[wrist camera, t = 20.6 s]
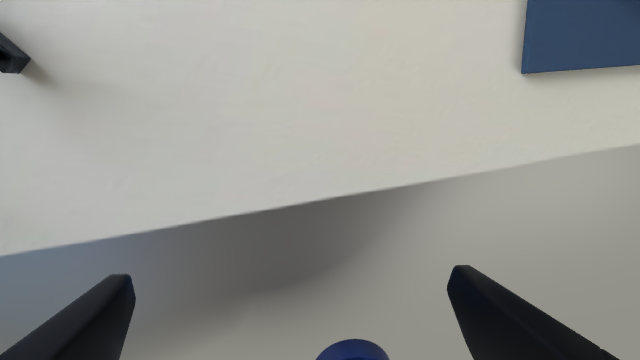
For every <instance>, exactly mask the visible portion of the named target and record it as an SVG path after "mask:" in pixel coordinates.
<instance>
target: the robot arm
mask: <svg viewBox="0 0 640 360" xmlns="http://www.w3.org/2000/svg"><path fill="white" fill-rule="evenodd" d="M447 292H448V296H449V298H450V301H451V304H452V307H453V309H454V312H455V315H456V318H457V320H458V323H459V326H460V328H461V331H462V334H463V337H464V339H465V342H466V344H467V346H468V348H469V351H470V352H471V354H472V357H473V359H474V360H619V359H618V358H616V357H615V356H613V355H611V354H610V353H608V352H607V351H605V350H603V349H600V347H598V346H597V345H595V344H594V343H592V342H591V341H589V340H587V339H586V338H584V337H583V336H581V335H580V334H578V333H576V332H575V331H573V330H572V329H570V328H568V327H567V326H565V325H564V324H562V323H560V322H559V321H557V320H555V319H554V318H552V317H551V316H549V315H548V314H546V313H545V312H543V311H541V310H540V309H538V308H537V307H535V306H533V305H532V304H530V303H529V302H527V301H525V300H524V299H522V298H520V297H519V296H517V295H516V294H514V293H513V292H511V291H510V290H508V289H506V288H505V287H503V286H502V285H500V284H498V283H497V282H495V281H494V280H492V279H490V278H489V277H487V276H486V275H484V274H482V273H481V272H479V271H478V270H476V269H474V268H473V267H471V266H469V265H457V266H455V267H454V268H453V270H452V273H451V276H450V279H449V282H448V285H447ZM135 300H136V298H135V293H134V289H133V284H132V280H131V277H130V275H129V274H112V275H109V276H108V277H106V278H105V279H104V280H102V281H101V282H100V283H98V284H97V285H96V286H94V287H93V288H91V289H90V290H89V291H87V292H86V293H84V294H83V295H82V296H80V297H79V298H78V299H76V300H75V301H74V302H72V303H71V304H69V305H68V306H67V307H65V308H64V309H63V310H61V311H60V312H59V313H57V314H56V315H55V316H53V317H52V318H50V319H49V320H48V321H46V322H45V323H44V324H42V325H41V326H39V327H38V328H37V329H35V330H34V331H32V332H31V333H30V334H28V335H27V336H26V337H24V338H23V339H21V340H20V341H19V342H17V343H16V344H15V345H13V346H12V347H10V348H9V349H8V350H7V351H5V352H4V353H2V354H1V355H0V360H119V358H120V355H121V351H122V348H123V344H124V341H125V338H126V334H127V331H128V327H129V323H130V321H131V317H132V314H133V310H134V307H135Z"/></svg>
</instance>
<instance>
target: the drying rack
mask: <svg viewBox="0 0 640 360" xmlns="http://www.w3.org/2000/svg"><path fill="white" fill-rule="evenodd" d="M30 60H31V58H30V57H28V56H27V55H26V54H25V53H24V52H22V51H21V50H20V49H19V48H18V47H16V46H15V45H14V44H13V43H12V42H11V41H9V40H8V39H7V38H6V37H5V36H3V35H2V34H1V33H0V71H1V72H2V73H16V74H19V73H20V72H21V71H22V70H23V68H24V67H25V66H26V65H27V64H28V62H29V61H30Z"/></svg>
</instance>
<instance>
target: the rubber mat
mask: <svg viewBox="0 0 640 360" xmlns="http://www.w3.org/2000/svg"><path fill="white" fill-rule="evenodd" d="M630 65H640V0H528V4H527V15H526V26H525V36H524V47H523V58H522V69H521V73H522V74H526V73H539V72H552V71H565V70H578V69H591V68H604V67H617V66H630Z"/></svg>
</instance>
